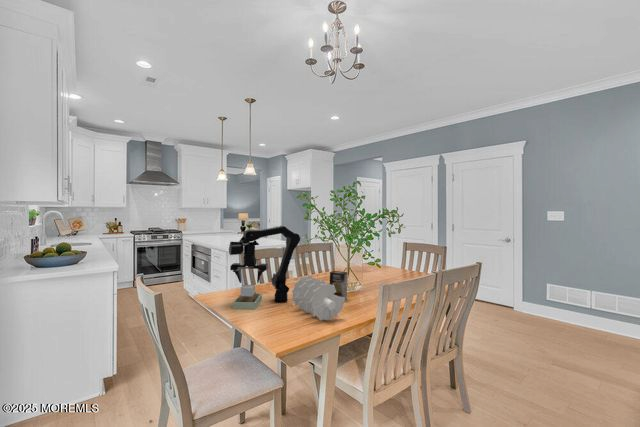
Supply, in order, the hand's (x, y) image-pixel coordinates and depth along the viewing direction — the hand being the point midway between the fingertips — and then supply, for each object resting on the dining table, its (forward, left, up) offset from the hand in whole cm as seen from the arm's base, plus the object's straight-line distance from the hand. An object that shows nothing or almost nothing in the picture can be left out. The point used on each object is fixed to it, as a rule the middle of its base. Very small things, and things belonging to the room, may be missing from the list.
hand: (249, 283), depth 160 cm
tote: (+1, -2, -12) cm, 13 cm away
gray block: (0, +2, -6) cm, 6 cm away
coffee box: (-48, -15, -13) cm, 52 cm away
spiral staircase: (-36, +10, -13) cm, 40 cm away
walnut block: (0, +1, -12) cm, 12 cm away
